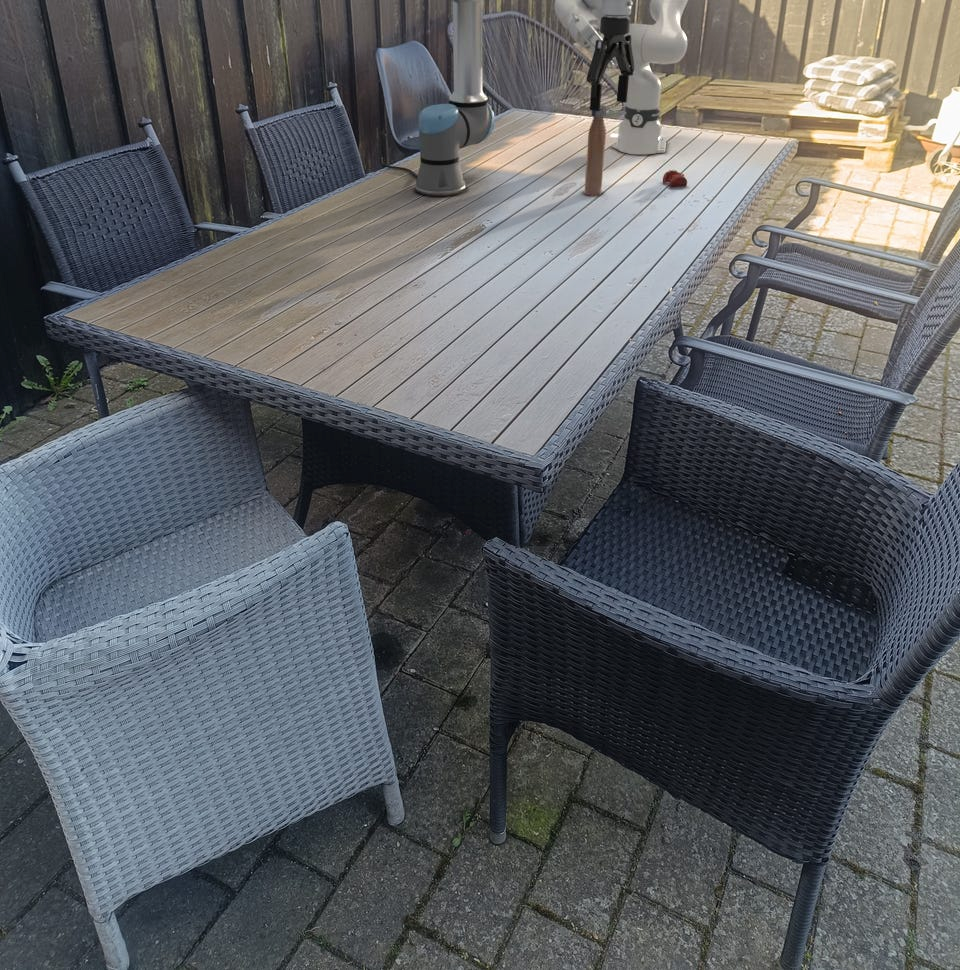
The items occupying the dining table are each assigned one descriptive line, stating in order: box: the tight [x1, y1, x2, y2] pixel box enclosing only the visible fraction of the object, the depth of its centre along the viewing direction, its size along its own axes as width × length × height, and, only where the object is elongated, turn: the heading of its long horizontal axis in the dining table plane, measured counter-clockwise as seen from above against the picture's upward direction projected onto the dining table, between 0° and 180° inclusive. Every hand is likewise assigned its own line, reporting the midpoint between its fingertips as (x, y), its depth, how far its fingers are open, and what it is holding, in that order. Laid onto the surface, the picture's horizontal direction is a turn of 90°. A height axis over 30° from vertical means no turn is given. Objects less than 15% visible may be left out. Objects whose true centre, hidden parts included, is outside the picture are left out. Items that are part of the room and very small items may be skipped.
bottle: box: [583, 116, 607, 197], centre depth 249 cm, size 5×5×24 cm
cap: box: [591, 104, 607, 118], centre depth 242 cm, size 4×4×2 cm
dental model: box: [662, 169, 688, 188], centre depth 261 cm, size 6×4×8 cm
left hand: (608, 106), depth 226 cm, fingers open, 13 cm apart
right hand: (608, 57), depth 252 cm, fingers open, 8 cm apart
